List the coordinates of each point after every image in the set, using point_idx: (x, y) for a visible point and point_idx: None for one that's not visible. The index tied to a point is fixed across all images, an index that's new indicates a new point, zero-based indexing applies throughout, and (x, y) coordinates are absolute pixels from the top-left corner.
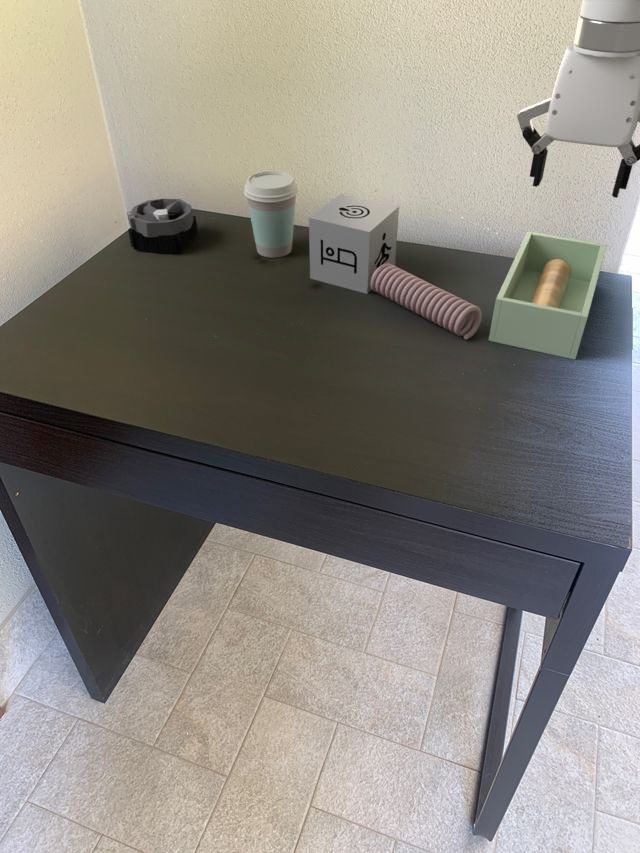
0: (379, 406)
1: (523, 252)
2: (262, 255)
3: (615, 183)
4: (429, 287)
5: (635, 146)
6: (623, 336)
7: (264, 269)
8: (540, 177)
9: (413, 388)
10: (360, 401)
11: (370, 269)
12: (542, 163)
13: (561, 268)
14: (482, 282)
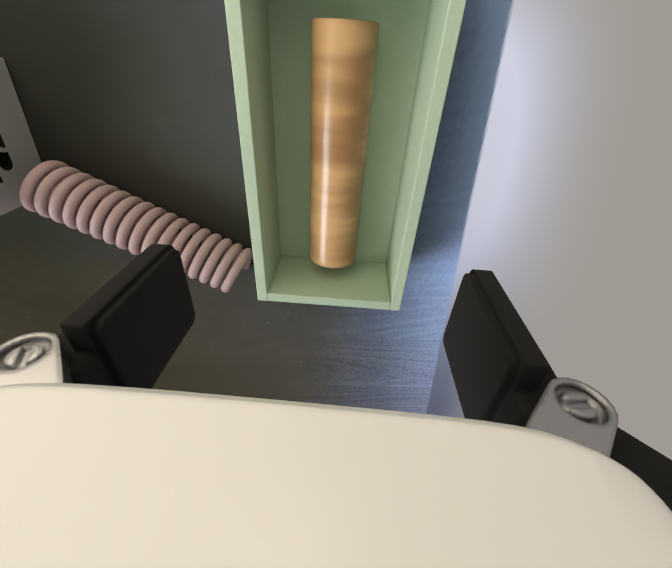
0: (215, 376)
1: (249, 99)
2: None
3: (454, 377)
4: (143, 249)
5: (609, 448)
6: (472, 187)
7: None
8: (180, 326)
9: (231, 352)
10: (197, 375)
11: (12, 198)
12: (153, 384)
13: (351, 76)
14: (198, 65)
